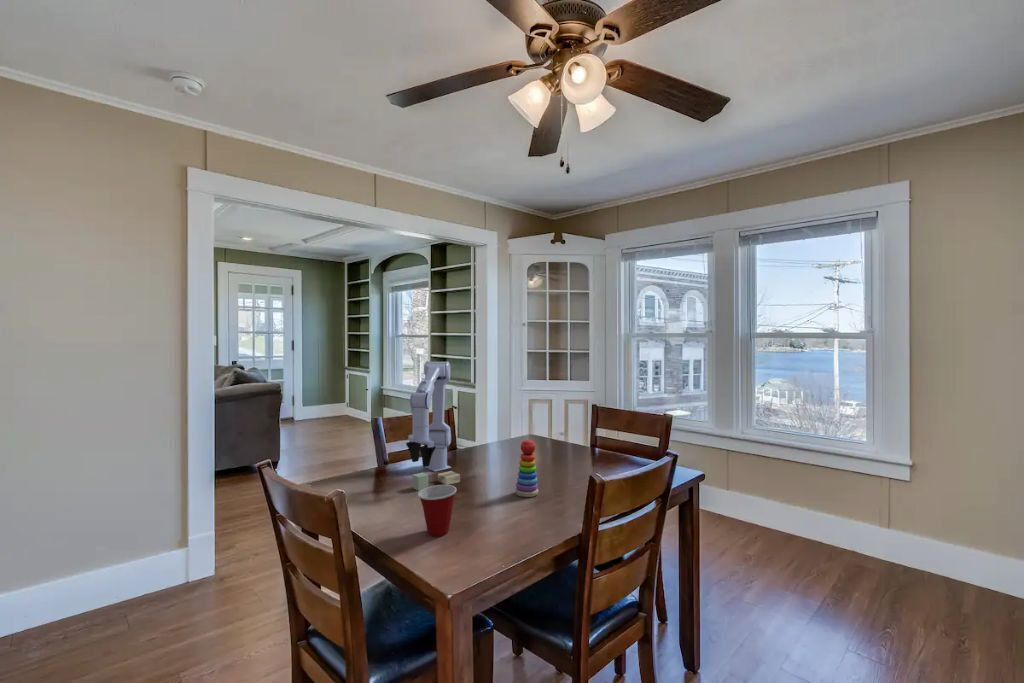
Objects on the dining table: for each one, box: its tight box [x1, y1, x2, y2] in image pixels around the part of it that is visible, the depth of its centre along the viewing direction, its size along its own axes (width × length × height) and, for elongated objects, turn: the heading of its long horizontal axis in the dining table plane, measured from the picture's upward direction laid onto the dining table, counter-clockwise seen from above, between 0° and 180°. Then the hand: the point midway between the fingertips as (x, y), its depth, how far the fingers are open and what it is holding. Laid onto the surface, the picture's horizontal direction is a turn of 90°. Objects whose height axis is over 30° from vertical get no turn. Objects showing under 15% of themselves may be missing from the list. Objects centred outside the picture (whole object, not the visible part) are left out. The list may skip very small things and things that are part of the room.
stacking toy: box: [515, 439, 540, 498], centre depth 160 cm, size 8×8×19 cm
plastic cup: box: [417, 484, 457, 538], centre depth 130 cm, size 11×11×12 cm
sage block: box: [412, 472, 429, 492], centre depth 166 cm, size 4×4×5 cm
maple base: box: [437, 470, 461, 485], centre depth 174 cm, size 6×6×3 cm
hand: (420, 463), depth 166 cm, fingers open, 7 cm apart
